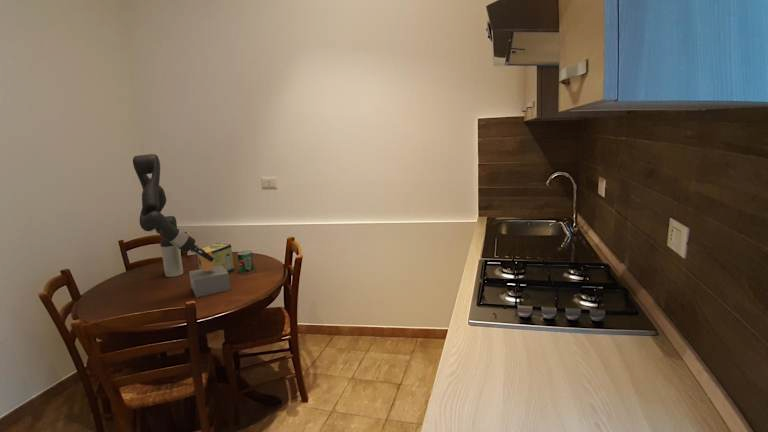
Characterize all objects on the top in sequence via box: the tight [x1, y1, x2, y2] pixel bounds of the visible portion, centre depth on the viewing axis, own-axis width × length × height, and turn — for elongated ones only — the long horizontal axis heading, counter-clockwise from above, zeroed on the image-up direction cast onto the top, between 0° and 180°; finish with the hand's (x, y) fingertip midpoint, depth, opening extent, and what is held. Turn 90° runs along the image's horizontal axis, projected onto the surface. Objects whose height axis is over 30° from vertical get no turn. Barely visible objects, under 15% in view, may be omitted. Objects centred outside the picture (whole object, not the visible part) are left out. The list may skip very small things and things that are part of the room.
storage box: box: [189, 265, 231, 298], centre depth 220 cm, size 16×16×9 cm
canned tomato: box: [237, 250, 255, 275], centre depth 245 cm, size 8×8×11 cm
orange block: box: [200, 250, 214, 271], centre depth 218 cm, size 4×4×9 cm
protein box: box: [197, 242, 235, 273], centre depth 242 cm, size 10×16×16 cm
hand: (210, 259), depth 219 cm, fingers closed on orange block, 4 cm apart
